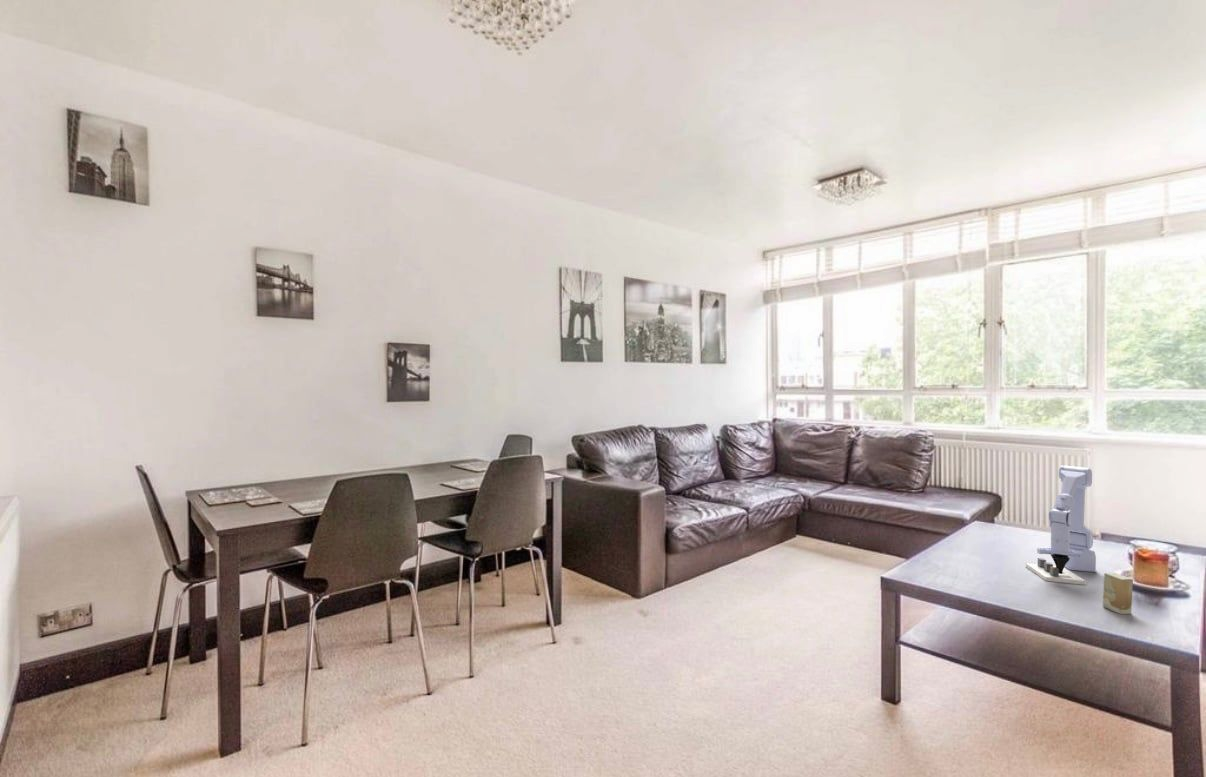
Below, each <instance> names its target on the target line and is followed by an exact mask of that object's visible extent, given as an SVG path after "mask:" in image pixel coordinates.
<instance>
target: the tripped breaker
mask: <svg viewBox="0 0 1206 777" xmlns="http://www.w3.org/2000/svg"><path fill="white" fill-rule="evenodd" d="M1054 566H1055V565H1053V566H1052V567H1051V566H1050V574H1051V575H1052V576H1059V569H1058V568H1057V567H1054Z"/></svg>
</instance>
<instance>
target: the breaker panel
mask: <svg viewBox="0 0 1206 777" xmlns="http://www.w3.org/2000/svg"><path fill="white" fill-rule="evenodd" d="M1050 566H1051V567H1052V566H1054V567H1056V565H1054V564H1053V563H1051V562H1047V560H1046V559H1045V558H1040V557H1037V563H1025V567H1026V568H1027V570H1028V569H1029V570H1030V571H1031V572H1032V573H1033V574H1035V573H1036V575H1037V576H1038V577H1040V578H1041V579H1042V578H1043V579H1042V580H1044V581H1046V582H1056V583H1066V584H1077V585H1086V580H1085V579H1083V578H1081V577H1080V576H1079V575H1077V574H1075V573H1074V572H1072V571H1071V570H1070V569H1068V568H1066V567H1064V569H1063V572H1062V574H1059V576H1052V575H1051V574H1050Z"/></svg>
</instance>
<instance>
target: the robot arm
mask: <svg viewBox="0 0 1206 777" xmlns="http://www.w3.org/2000/svg"><path fill="white" fill-rule="evenodd" d="M1058 477H1059V480H1060V482H1062V486H1061V487H1062V488H1061V493H1060V494H1058V495H1056V498H1055V502H1054V504H1053V508H1052V509H1050V510H1049V513H1048V520H1049V527H1050V547H1043V548H1042V547H1037V548H1036V550H1037V552H1036V553H1037V554H1040V555H1050V557H1051V558H1052V560H1053V562H1054V564H1055V566H1056V567H1057V568H1058V569H1059V574H1062V572H1063V569H1064V568H1065V569H1067V570H1069V571H1080V572H1081V571H1082V572H1093V573H1097V572H1098V571H1097V570H1096V568H1097V554H1096V553H1095V550H1094V549H1093V545H1094V537H1093V530H1091V529H1090V528H1088V527H1087V526H1086V525H1085V504H1086V502H1085V501H1086V500H1085V499H1086V489H1087V488H1089V487H1091V486H1092V484H1093V472H1092V469H1091V468H1090V467H1081V466H1080V467H1079V466H1070V465H1064V464H1063V465H1060V467H1059V468H1058Z"/></svg>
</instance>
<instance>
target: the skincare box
mask: <svg viewBox="0 0 1206 777" xmlns="http://www.w3.org/2000/svg"><path fill="white" fill-rule="evenodd" d="M1133 587H1134V579H1133V578H1130V577H1127V576H1125V575H1122V574H1119V573H1116V572H1104V578H1103V595H1102V607H1103V608H1106V609H1108V610H1110V611H1112V612H1115V613H1117V614H1119V615H1131V614H1132V608H1133V607H1132V603H1133Z"/></svg>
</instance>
